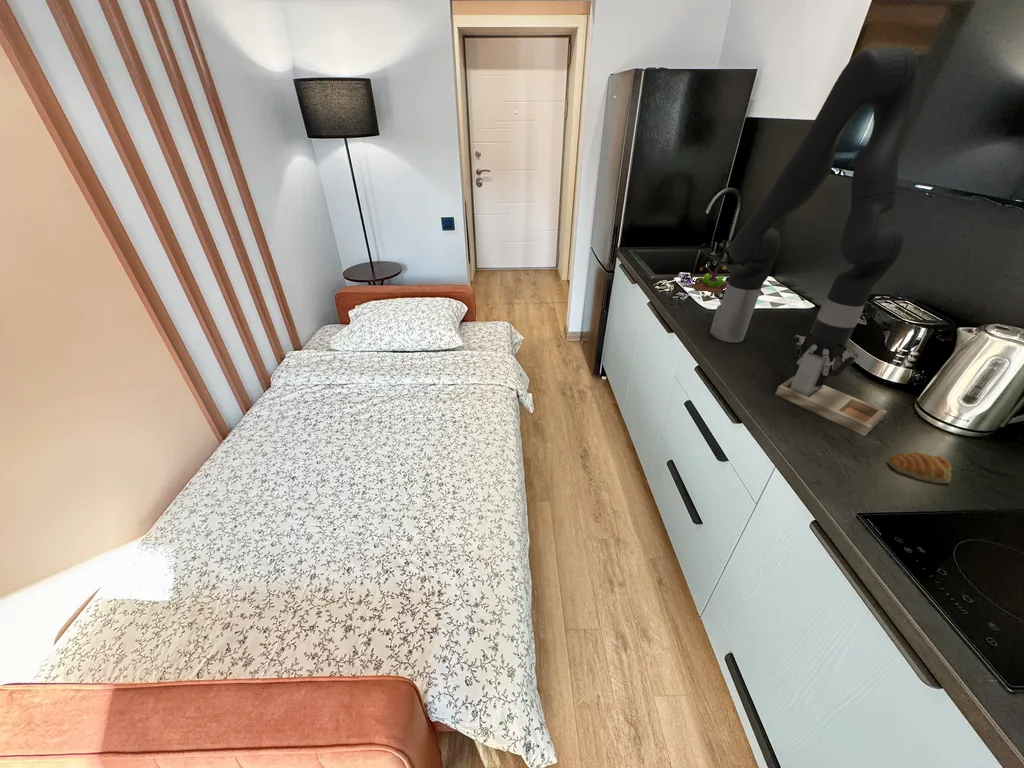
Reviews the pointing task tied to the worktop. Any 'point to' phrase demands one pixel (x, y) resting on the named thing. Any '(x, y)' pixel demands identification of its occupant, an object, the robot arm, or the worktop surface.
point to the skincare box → (808, 375)
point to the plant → (710, 281)
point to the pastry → (922, 467)
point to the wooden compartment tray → (835, 407)
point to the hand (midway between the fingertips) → (807, 381)
